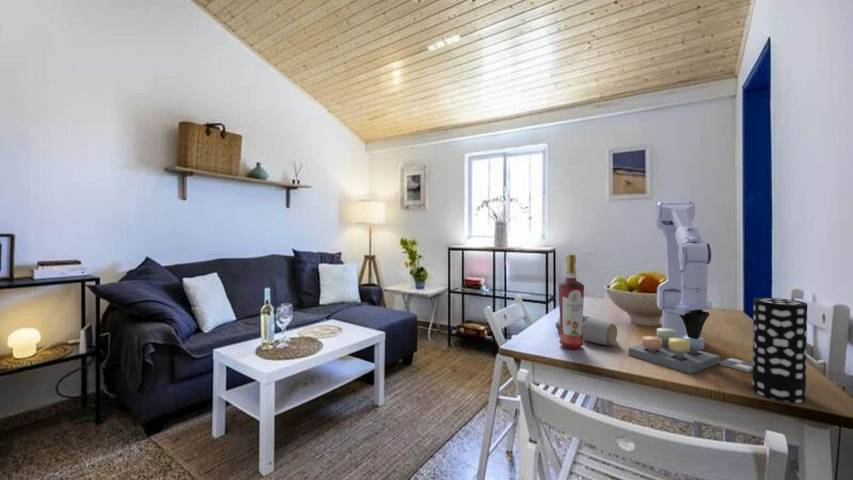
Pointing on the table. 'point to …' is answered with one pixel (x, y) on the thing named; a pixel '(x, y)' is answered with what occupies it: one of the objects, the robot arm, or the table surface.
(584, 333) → the grey cylinder
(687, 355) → the button console
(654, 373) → the table surface
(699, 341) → the button
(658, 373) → the table surface
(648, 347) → the button
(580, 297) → the liquor
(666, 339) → the button
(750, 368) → the card
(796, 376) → the white-spotted black cylinder
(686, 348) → the button
